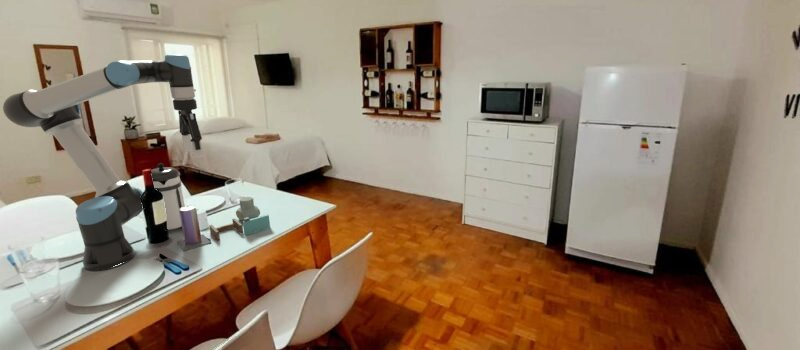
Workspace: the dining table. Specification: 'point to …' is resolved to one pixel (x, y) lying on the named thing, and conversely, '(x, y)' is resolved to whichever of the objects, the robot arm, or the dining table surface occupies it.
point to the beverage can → (190, 224)
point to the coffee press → (169, 193)
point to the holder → (225, 228)
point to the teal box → (255, 224)
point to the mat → (188, 247)
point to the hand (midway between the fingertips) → (193, 154)
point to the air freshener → (247, 209)
